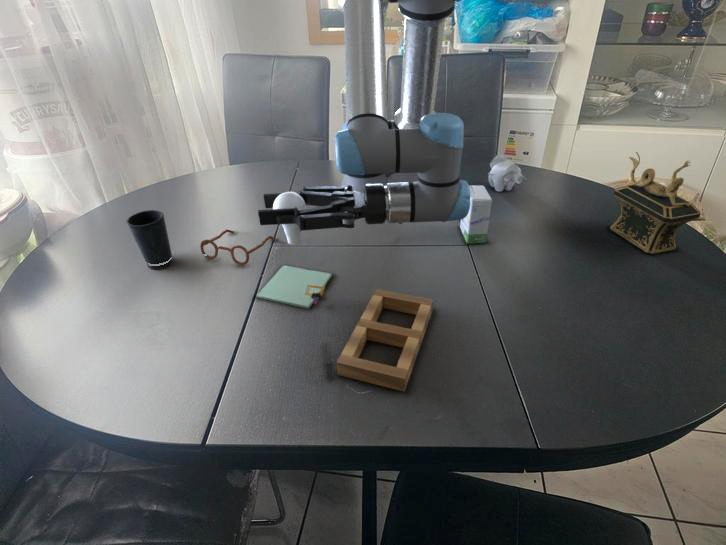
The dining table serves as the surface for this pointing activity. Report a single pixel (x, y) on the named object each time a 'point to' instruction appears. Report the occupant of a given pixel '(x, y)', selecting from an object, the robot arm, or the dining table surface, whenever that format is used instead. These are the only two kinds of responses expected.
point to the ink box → (477, 216)
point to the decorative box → (652, 211)
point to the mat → (293, 286)
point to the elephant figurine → (504, 174)
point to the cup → (151, 237)
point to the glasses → (231, 248)
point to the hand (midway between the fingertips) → (262, 209)
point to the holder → (386, 340)
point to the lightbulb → (289, 202)
